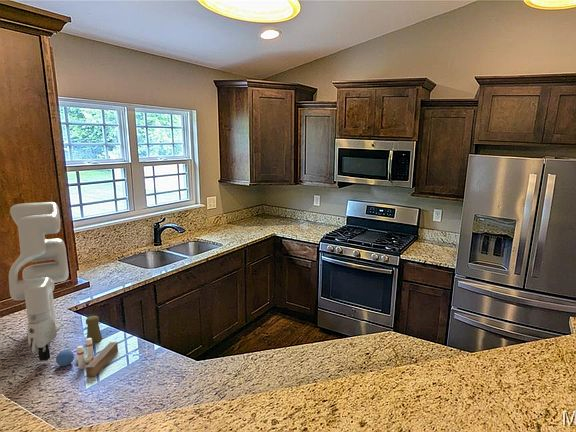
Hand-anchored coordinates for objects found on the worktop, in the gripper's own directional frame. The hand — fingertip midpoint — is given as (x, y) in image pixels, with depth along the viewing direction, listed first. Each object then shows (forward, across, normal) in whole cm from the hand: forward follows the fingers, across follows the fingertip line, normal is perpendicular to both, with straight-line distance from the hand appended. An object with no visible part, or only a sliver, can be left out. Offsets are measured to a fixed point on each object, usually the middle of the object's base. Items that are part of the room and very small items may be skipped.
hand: (44, 359), depth 143 cm
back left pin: (+2, +3, -16) cm, 17 cm away
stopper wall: (+2, 0, -23) cm, 23 cm away
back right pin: (+2, -3, -16) cm, 17 cm away
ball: (-2, -1, -9) cm, 9 cm away
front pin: (0, 0, -13) cm, 13 cm away
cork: (+2, +18, -10) cm, 20 cm away
